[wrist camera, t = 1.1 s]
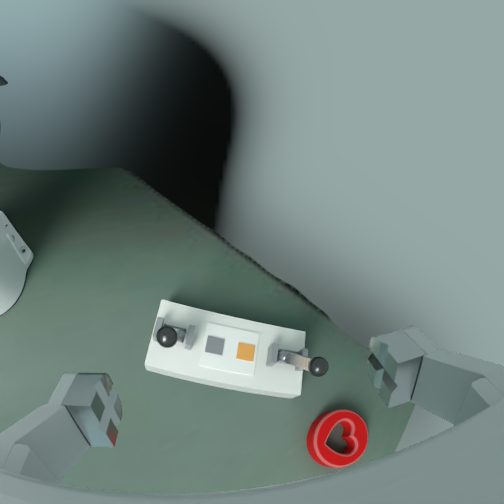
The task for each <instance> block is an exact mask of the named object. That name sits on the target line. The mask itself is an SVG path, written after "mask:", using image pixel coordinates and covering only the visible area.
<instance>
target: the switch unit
mask: <svg viewBox="0 0 504 504" xmlns="http://www.w3.org/2000/svg"><path fill="white" fill-rule="evenodd" d="M164 324H169V325H173V326H177V327H181V328H185V329H186V334H185V338H184V342H183V343H181V342H177V343H176V344H175V345H174V346H173V347H170V348H165V347H162V346H161V345H160V344H159V343H158V342H157V339H156V334H157V331H158V330H159V329H160V328H161V327H163V326H164ZM305 333H306V332H305V331H299V330H294V329H289V328H284V327H279V326H274V325H269V324H264V323H259V322H255V321H250V320H245V319H241V318H236V317H232V316H227V315H223V314H219V313H214V312H210V311H206V310H202V309H198V308H194V307H190V306H186V305H182V304H178V303H174V302H170V301H166V300H162V301H161V304H160V308H159V311H158V315H157V318H156V322H155V326H154V330H153V333H152V337H151V341H150V345H149V349H148V353H147V357H146V361H145V367H146V370H148V371H152V372H156V373H159V374H163V375H167V376H171V377H175V378H179V379H184V380H188V381H192V382H197V383H202V384H206V385H211V386H216V387H221V388H226V389H232V390H237V391H243V392H249V393H255V394H262V395H268V396H276V397H283V398H294V397H297V396H299V395H301V385H302V373H303V369H301V368H299V367H296V366H293V365H290V364H284V363H278V362H277V357H278V349H285V350H291V351H297V352H300V355H303V356H306V357H308V349H306V348H305Z"/></svg>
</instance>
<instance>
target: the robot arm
mask: <svg viewBox="0 0 504 504" xmlns="http://www.w3.org/2000/svg"><path fill="white" fill-rule="evenodd" d="M24 251H25V252H24ZM23 252H24V253H23ZM32 259H33V253H32V251H31V250H30V249H29V247H28V246H27V245H26V243H25V242H24V241H23V239H22V238H21V237H20V235H19V234H18V233H17V231H16V230H15V228H14V227H13V226H12V224H11V223H10V221H9V220H8V219H7V217H6V216H5V214H4V213H3V212H2V211H0V315H1V314H3V313H4V312H6V311H7V310H8V309H9V308H11V307H12V305H13V304H14V303H15V302H16V300H17V299H18V297H19V295H20V293H21V291H22V289H23V286H24V282H25V276H26V271H27V268H28V267H29V265H30V263H31V261H32ZM369 349H370V350H371V351H372V354H371V355H370V357H369V358H368V360H367V372H368V376H369V379H370V381H371V383H372V384H373V386H375V387H377V388H379V389H380V393H379V395H380V397H381V398H382V400H383V401H384V403H385V404H386V406H387V407H388V408H390V407H393V406H396V405H399V404H402V403H405V402H408V401H411V402H412V403H414V404H416V405H418V406H420V407H422V408H424V409H425V410H427V411H429V412H431V413H433V414H435V415H437V416H439V417H441V418H443V419H444V420H447V421H449V422H450V423H452V424H454V426H453V427H451V428H449V429H447V430H445V431H443V432H441V433H439V434H437V435H435V436H433V437H430V438H428V439H426V440H424V441H421V442H419V443H417V444H414V445H412V446H410V447H407V448H405V449H402V450H400V451H397V452H394V453H392V454H389V455H386V456H384V457H381V458H378V459H375V460H372V461H369V462H366V463H363V464H360V465H357V466H354V467H350V468H347V469H343V470H340V471H336V472H333V473H329V474H325V475H321V476H317V477H313V478H308V479H304V480H299V481H294V482H289V483H284V484H279V485H273V486H266V487H260V488H253V489H245V490H236V491H226V492H213V493H195V494H145V493H127V492H115V491H105V490H97V489H89V488H82V487H76V486H70V485H64V484H60V483H59V481H60V480H61V479H62V478H63V477H64V476H65V475H66V474H67V472H68V471H69V470H70V469H71V468H72V467H73V466H74V465H75V464H76V463H77V462H78V461H79V460H80V459H81V457H82V456H83V455H84V454H85V453H86V452H87V451H88V450H89V449H90V448H91V447H90V446H96V447H114V446H115V442H116V438H117V434H118V431H117V429H116V427H115V426H116V425H117V424H118V423H119V422H121V418H122V405H121V401H120V398H119V396H118V394H117V393H116V392H115V391H114V390H112V389H111V388H112V385H113V382H112V380H111V378H110V376H109V375H108V374H107V373H65V374H63V376H62V378H61V379H60V381H59V383H58V385H57V387H56V389H55V391H54V393H53V394H52V396H51V398H50V400H49V402H48V404H43V405H42V406H40V407H39V408H37V409H36V410H34V411H33V412H31V413H30V414H28V415H27V416H25V417H24V418H22V419H21V420H19V421H18V422H16V423H15V424H13V425H12V426H10V427H9V428H7V429H6V430H4V431H3V432H1V433H0V504H504V367H503V366H502V365H499V364H495V363H492V362H488V361H484V360H481V359H477V358H474V357H470V356H467V355H463V354H460V353H456V352H453V351H450V350H446V349H441V350H439V348H437V347H436V346H435V345H434V344H433V343H432V342H431V341H430V340H429V339H428V338H427V337H426V336H425V335H424V334H423V333H422V332H421V331H420V330H418V329H417V328H416V327H415V326H408V327H405V328H402V329H399V330H397V331H394V332H389V333H386V334H382V335H378V336H374V337H372V338H371V340H370V345H369Z"/></svg>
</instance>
